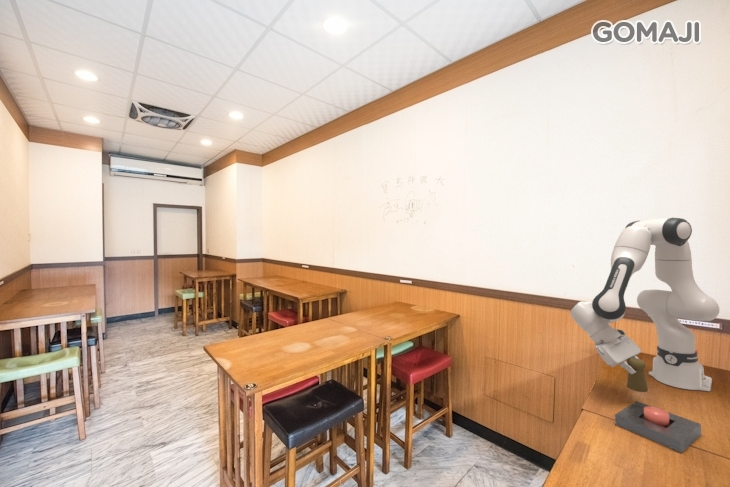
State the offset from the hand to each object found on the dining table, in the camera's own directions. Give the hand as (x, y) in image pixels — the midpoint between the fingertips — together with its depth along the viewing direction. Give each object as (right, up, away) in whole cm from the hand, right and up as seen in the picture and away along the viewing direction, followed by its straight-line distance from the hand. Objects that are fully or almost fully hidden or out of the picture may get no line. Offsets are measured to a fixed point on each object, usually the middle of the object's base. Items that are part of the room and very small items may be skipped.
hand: (638, 371), depth 112 cm
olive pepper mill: (0, -7, +1) cm, 7 cm away
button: (-7, -11, -14) cm, 20 cm away
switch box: (-7, -13, -14) cm, 21 cm away
